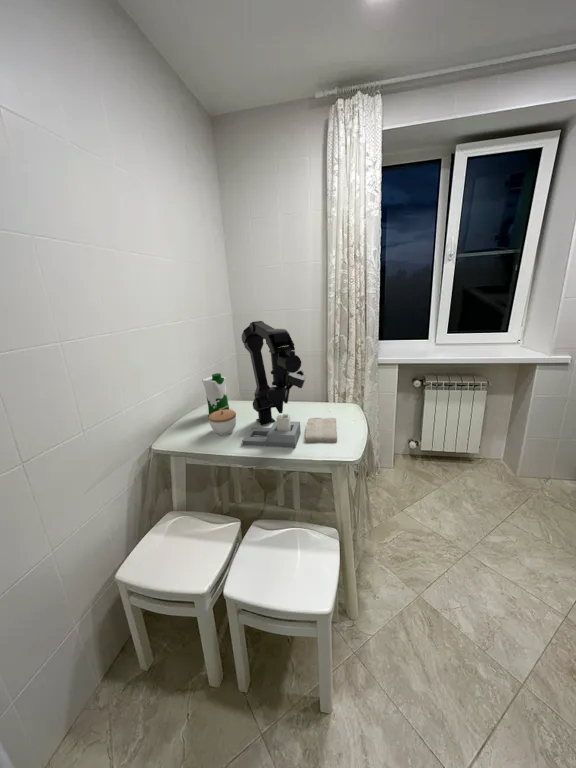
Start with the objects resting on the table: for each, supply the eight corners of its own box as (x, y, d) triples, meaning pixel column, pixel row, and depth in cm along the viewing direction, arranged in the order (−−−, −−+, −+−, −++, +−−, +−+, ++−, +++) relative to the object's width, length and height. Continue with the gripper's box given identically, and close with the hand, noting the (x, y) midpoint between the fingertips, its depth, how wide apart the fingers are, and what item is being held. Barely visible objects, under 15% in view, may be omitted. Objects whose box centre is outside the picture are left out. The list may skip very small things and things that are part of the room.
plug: (277, 434, 109) (276, 416, 107) (279, 430, 112) (278, 412, 109) (289, 434, 108) (288, 416, 106) (291, 430, 111) (289, 413, 108)
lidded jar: (236, 436, 116) (233, 414, 113) (209, 439, 116) (205, 417, 113) (239, 424, 126) (236, 404, 123) (214, 427, 126) (210, 406, 123)
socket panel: (242, 445, 109) (241, 433, 107) (252, 431, 119) (250, 420, 118) (295, 447, 104) (294, 435, 103) (300, 433, 115) (299, 421, 113)
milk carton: (218, 420, 132) (212, 377, 126) (205, 416, 138) (198, 375, 131) (233, 413, 139) (227, 372, 133) (220, 409, 144) (214, 370, 138)
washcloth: (336, 422, 123) (335, 415, 122) (338, 443, 106) (338, 436, 105) (307, 422, 125) (307, 415, 124) (305, 444, 108) (305, 436, 107)
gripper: (298, 373, 92) (301, 419, 96) (306, 359, 109) (308, 398, 114) (264, 374, 94) (268, 418, 99) (277, 360, 111) (280, 398, 116)
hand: (283, 408), depth 107 cm, fingers open, 9 cm apart
